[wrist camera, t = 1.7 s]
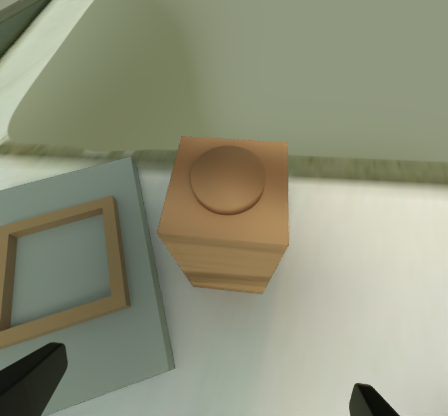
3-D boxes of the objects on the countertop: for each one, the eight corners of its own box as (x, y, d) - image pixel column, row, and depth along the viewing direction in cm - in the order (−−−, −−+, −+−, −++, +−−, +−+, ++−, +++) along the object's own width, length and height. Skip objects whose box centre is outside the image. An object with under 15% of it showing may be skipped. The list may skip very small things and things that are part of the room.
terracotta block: (262, 293, 22) (292, 238, 11) (193, 286, 22) (151, 225, 11) (264, 229, 25) (290, 131, 13) (203, 224, 25) (178, 125, 14)
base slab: (175, 368, 19) (165, 371, 17) (-21, 439, 18) (-65, 455, 15) (136, 168, 29) (127, 150, 26) (5, 203, 27) (-19, 187, 24)
